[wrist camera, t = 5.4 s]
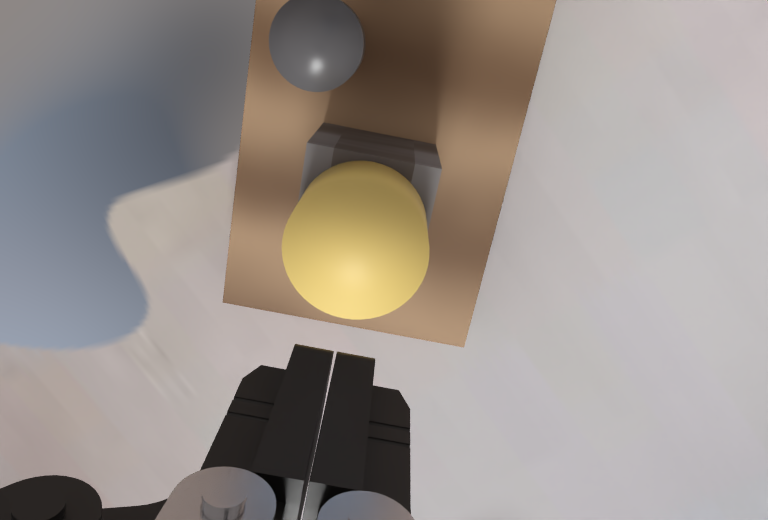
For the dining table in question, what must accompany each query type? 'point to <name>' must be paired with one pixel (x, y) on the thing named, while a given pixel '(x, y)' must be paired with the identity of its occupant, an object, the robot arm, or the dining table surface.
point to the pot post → (316, 43)
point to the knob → (357, 241)
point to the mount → (392, 146)
